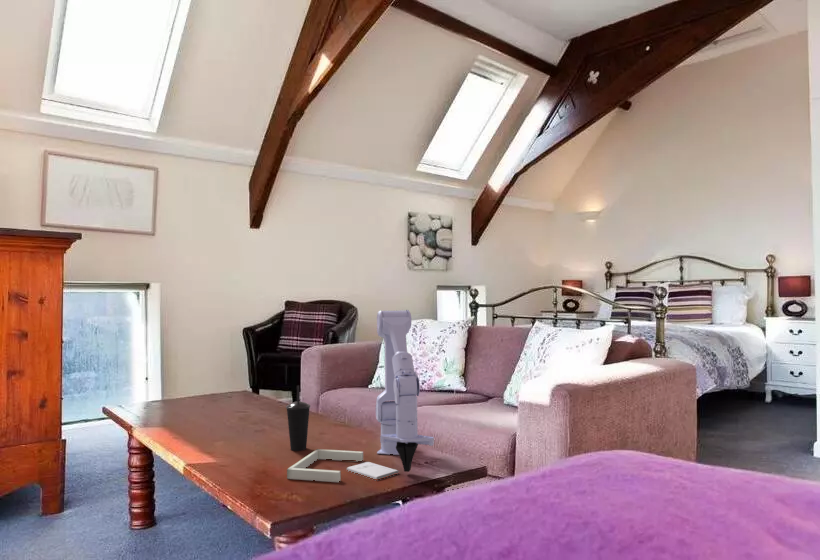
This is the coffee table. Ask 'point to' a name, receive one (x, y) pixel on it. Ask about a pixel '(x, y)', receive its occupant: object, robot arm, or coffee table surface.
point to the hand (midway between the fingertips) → (407, 470)
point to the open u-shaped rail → (321, 475)
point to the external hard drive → (372, 470)
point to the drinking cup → (298, 423)
